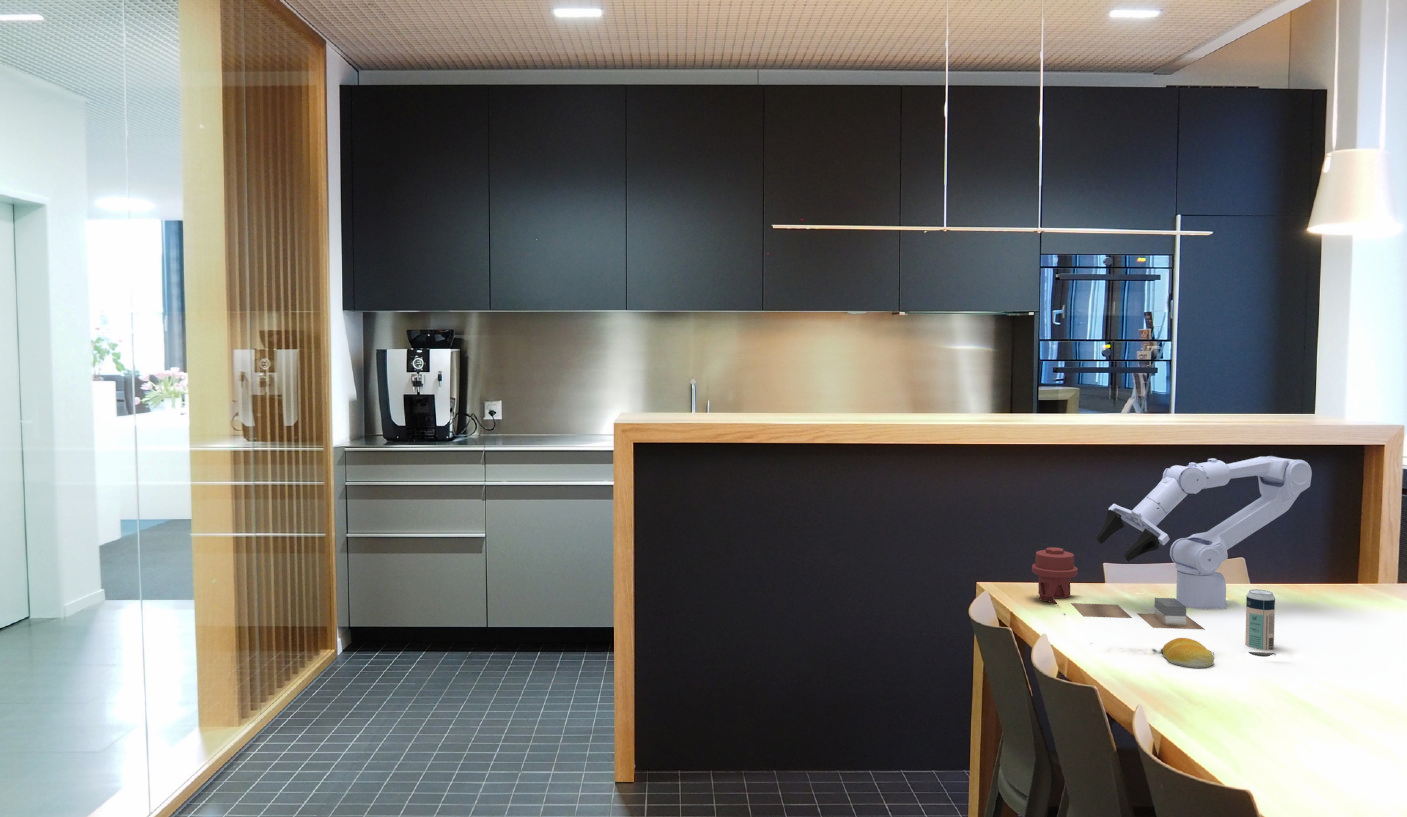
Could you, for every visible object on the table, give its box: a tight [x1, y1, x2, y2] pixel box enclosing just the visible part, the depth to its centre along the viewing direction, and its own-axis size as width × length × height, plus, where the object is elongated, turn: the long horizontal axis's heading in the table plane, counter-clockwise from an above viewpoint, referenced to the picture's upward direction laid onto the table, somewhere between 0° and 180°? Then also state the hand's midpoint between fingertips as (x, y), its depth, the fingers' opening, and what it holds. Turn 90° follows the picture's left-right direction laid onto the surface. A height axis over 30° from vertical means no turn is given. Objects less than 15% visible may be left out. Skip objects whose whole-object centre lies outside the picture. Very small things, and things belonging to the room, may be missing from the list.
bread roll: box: [1162, 637, 1215, 669], centre depth 175 cm, size 8×9×4 cm
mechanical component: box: [1031, 546, 1079, 605], centre depth 219 cm, size 12×10×10 cm
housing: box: [1153, 597, 1187, 626], centre depth 197 cm, size 4×7×4 cm, turn 171°
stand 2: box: [1136, 612, 1206, 630], centre depth 197 cm, size 10×11×2 cm
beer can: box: [1244, 588, 1276, 658], centre depth 179 cm, size 5×5×12 cm
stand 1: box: [1070, 602, 1133, 619], centre depth 206 cm, size 10×11×2 cm
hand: (1112, 549), depth 206 cm, fingers open, 7 cm apart
